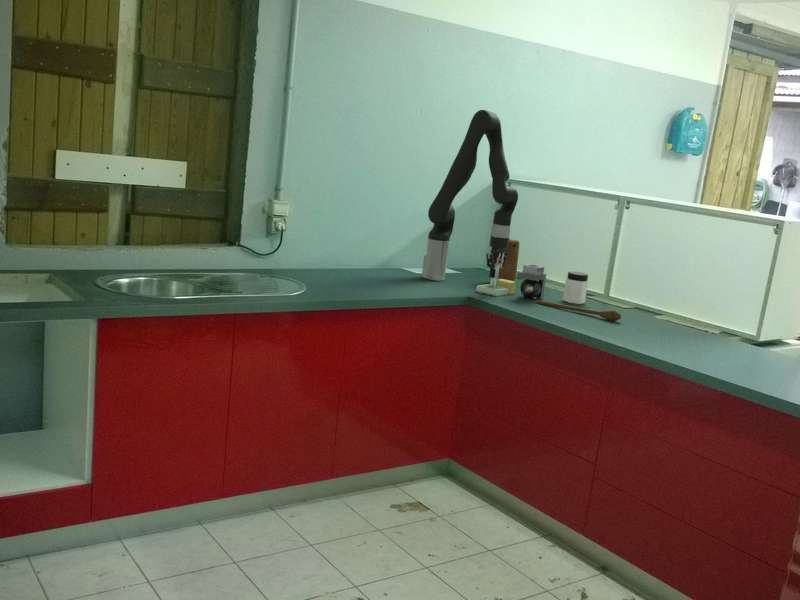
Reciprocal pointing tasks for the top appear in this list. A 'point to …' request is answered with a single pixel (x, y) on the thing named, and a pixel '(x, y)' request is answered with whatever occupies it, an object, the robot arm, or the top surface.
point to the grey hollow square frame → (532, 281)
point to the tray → (492, 290)
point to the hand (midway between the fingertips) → (494, 277)
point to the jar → (575, 287)
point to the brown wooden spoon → (586, 310)
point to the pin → (495, 280)
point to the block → (510, 261)
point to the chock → (507, 285)
